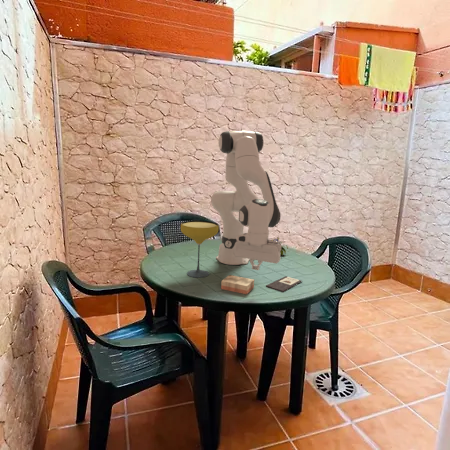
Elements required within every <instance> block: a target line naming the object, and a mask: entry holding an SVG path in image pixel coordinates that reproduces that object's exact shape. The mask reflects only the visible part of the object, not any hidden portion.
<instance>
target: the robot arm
mask: <svg viewBox="0 0 450 450" xmlns="http://www.w3.org/2000/svg"><path fill="white" fill-rule="evenodd" d="M264 144H265V143H264V136H263V134H262V133H261V132H259V131H249V130H235V131H229V130H227V131H222V132H221V134H219V139H218V148H219V151H221V153H222V154H226V157H225V159H226V160H225V174H224V175H225V181H226V182H227V183H228V184H230V185H231V186H233V187H234V188H235V190H218V191H215V192H214V193H213V194H212V195H211V198H210V204H211V206H212V208H213V209H214V210H216V212H218V214H219V216H220V217H221V221H222V235H221V243H220V244H219V247H218V255H217V256H215V259H216V260H217V261H219V263H222V264H225V265H231V266H232V265H234V266H235V265H237V266H239V265H248V264H249V262H250V265H251V270H256V271H259V270H260V266H261V265H262V264H263V262H264V263H265V262H266V263H270V264H279V263H280V262H281V253H280V251H281V246H282V244H280V243H279V242H280V241H272V240H273V239H269V235H270V233H269V232H270V231H269V228H274V227H276V226H277V225H278V224H279V223H280V221H281V211H280V208H279V206H278V204H277V200H276V197H275V193H274V189H273V186H272V183H271V178H270V176H269V173H268V171H266V170H265V169H264V168H263V167H262V165H261V161H260V154H259V153H260V152H261V151H262V150H263V148H264ZM248 182H249V183H253V184H254V185H256V186H257V187H259V189H260V190H261V195H262V198H263V199H261V198H259V197H258V195H257V194H256V193H255V192H254V191H253V190H252V189H251V188H250V185H249V183H248ZM235 212H236V213H238V217H236V215H234V213H235ZM244 226H245V227H247V228H248V229H247V232H244ZM278 243H279V244H278ZM254 261H257V263H258V264H255V262H254Z"/></svg>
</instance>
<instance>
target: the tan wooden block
mask: <svg viewBox="0 0 450 450" xmlns="http://www.w3.org/2000/svg"><path fill="white" fill-rule="evenodd" d="M254 284H255V279H253V278H249V277H248V278H247V277H242V276H237V275H232V274H229V275H227V276H226V277H224V279H222V280H221V283H220V285H221V287H220V288H221V290H225V291H230V292H235V293H239V294H244V295H248V294H249V293H250V292H251V291H252V290H253V289H254V287H255V285H254Z"/></svg>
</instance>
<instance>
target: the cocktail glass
mask: <svg viewBox="0 0 450 450" xmlns="http://www.w3.org/2000/svg"><path fill="white" fill-rule="evenodd" d="M219 228H220V227H219V224H218V223H217V222H214V221H209V220H197V219H196V220H185V221H182V222H181V223H180V232H181V234H183V235H184V236H186V237H188V238H189V239H192V240H193V241H194V242H195V243H196V244H197V245H198V247H197V251H198V252H197V265H196V266H197V267H196V269H192V270H191V269H190V270H188V271H187V273H186V275H187V276H188V277H191V278H195V279H196V278H197V279H198V278H200V279H201V278H206V277H208V276H209V275H210V272H208V271H207V270H203V269H200V247H201V246H200V245H202V244H203V243H204V242H205V241H206V240H208V239H211V238H213V237H214V236H217V234H218V233H219V231H220V230H219Z"/></svg>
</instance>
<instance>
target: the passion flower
mask: <svg viewBox="0 0 450 450" xmlns="http://www.w3.org/2000/svg"><path fill="white" fill-rule="evenodd" d="M271 240H272V241H278V242H279V243H280V244H281V251H280V256H282V255H283V256H284V254H287V250H286V249H285V248H284V247H285V246H286V248H287V249H289V246H288V244H286V245H285V244H284V246H283V245H282V244H283V243H284V242H283V241H282V240H281V241H280V237H277V238H273V239H271ZM279 243H278V244H279Z"/></svg>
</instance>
